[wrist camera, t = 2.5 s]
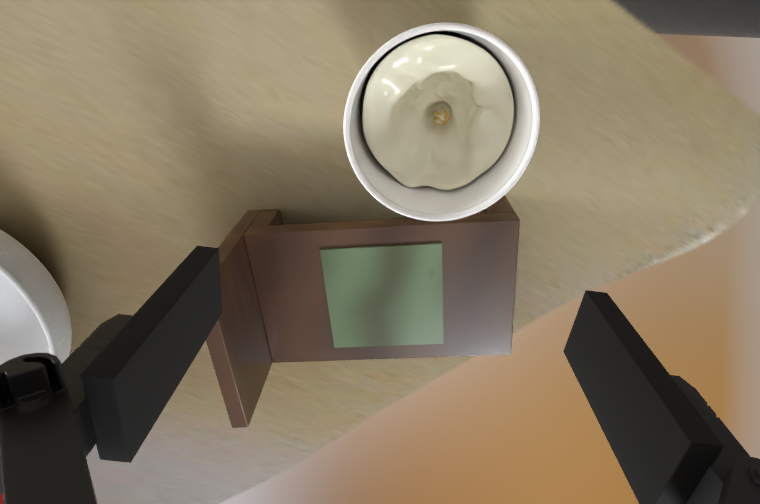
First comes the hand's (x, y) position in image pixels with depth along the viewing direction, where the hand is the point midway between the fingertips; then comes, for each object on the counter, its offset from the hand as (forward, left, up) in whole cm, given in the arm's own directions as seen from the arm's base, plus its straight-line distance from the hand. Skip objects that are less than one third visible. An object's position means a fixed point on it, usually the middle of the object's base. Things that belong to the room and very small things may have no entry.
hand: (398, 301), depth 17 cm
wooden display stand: (+2, +10, -21) cm, 24 cm away
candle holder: (-2, -4, -21) cm, 22 cm away
